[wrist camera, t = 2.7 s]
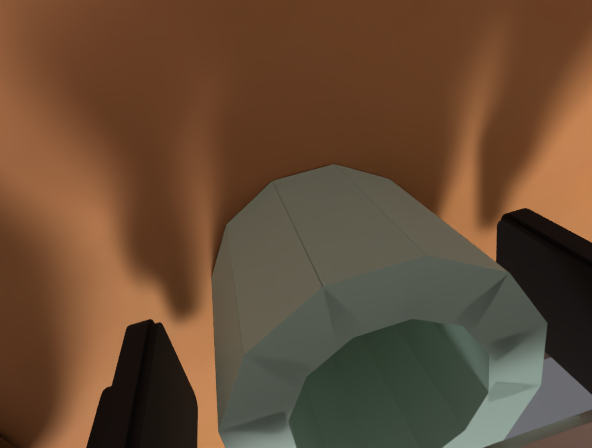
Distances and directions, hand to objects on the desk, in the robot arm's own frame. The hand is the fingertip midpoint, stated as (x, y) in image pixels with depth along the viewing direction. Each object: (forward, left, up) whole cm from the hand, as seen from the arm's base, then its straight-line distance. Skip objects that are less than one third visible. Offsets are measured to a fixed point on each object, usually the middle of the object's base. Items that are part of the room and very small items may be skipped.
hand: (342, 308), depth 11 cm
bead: (0, 0, -2) cm, 2 cm away
